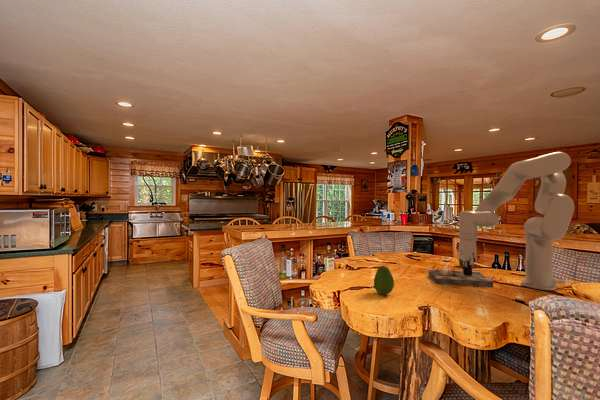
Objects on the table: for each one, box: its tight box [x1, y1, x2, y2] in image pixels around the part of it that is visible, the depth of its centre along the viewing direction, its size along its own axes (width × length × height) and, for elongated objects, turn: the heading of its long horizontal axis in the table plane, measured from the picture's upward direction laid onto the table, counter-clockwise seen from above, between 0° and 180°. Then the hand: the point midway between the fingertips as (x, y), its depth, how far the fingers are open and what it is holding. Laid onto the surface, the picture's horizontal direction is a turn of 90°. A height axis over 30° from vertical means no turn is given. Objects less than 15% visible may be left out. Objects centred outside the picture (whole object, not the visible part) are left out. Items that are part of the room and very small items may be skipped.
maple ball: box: [439, 267, 452, 277], centre depth 141 cm, size 6×6×6 cm
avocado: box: [373, 265, 395, 296], centre depth 120 cm, size 8×8×12 cm
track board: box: [428, 268, 494, 288], centre depth 140 cm, size 24×14×4 cm, turn 80°
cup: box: [458, 257, 475, 270], centre depth 156 cm, size 8×7×8 cm
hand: (467, 275), depth 138 cm, fingers closed
